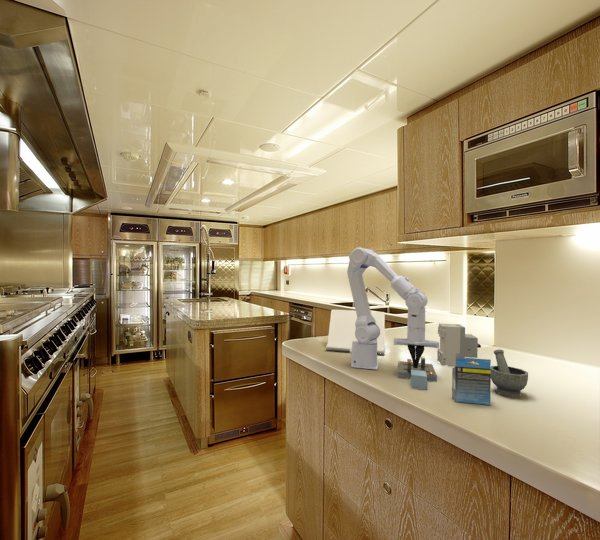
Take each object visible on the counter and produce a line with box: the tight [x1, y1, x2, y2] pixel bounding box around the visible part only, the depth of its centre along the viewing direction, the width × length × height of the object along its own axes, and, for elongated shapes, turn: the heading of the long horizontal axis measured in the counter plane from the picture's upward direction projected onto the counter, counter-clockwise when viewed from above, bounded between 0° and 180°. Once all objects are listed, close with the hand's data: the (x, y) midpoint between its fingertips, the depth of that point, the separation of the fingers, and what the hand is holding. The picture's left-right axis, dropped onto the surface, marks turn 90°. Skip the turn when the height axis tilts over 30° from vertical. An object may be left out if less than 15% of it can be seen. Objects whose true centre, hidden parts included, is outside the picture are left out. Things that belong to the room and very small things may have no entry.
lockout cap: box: [410, 370, 428, 391], centre depth 101 cm, size 4×6×4 cm
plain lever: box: [420, 355, 426, 366], centre depth 116 cm, size 1×3×3 cm, turn 164°
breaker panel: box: [397, 360, 438, 383], centre depth 113 cm, size 12×14×2 cm
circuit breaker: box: [436, 322, 482, 367], centre depth 127 cm, size 8×14×15 cm, turn 78°
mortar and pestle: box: [490, 349, 529, 399], centre depth 97 cm, size 11×9×12 cm
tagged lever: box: [406, 358, 413, 370], centre depth 111 cm, size 1×3×3 cm, turn 164°
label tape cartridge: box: [451, 357, 492, 406], centre depth 90 cm, size 9×4×12 cm, turn 77°
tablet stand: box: [325, 309, 386, 355], centre depth 148 cm, size 18×25×17 cm
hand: (415, 367), depth 111 cm, fingers closed
